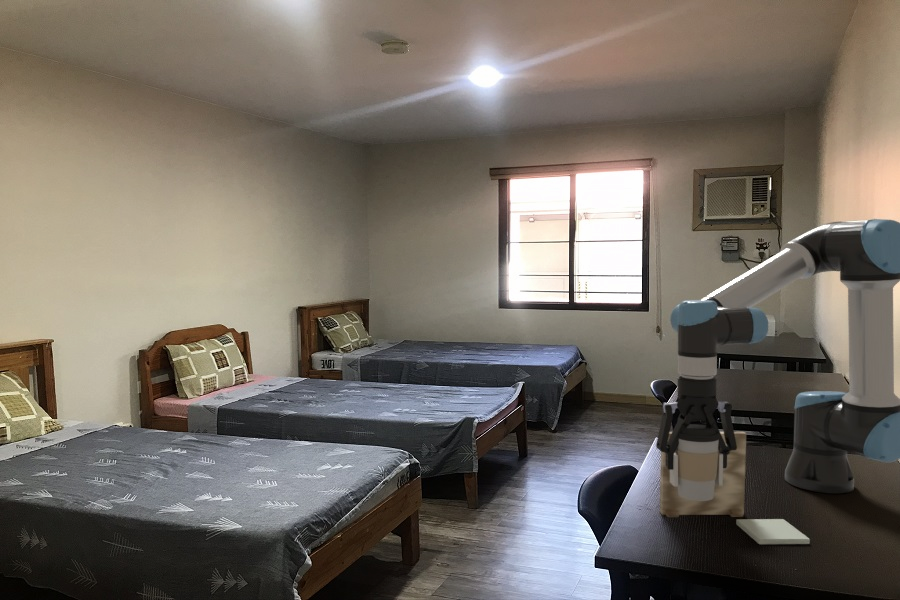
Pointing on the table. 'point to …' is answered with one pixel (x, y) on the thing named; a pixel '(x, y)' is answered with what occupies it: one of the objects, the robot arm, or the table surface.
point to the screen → (725, 496)
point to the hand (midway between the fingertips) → (695, 483)
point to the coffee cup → (697, 461)
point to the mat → (772, 531)
